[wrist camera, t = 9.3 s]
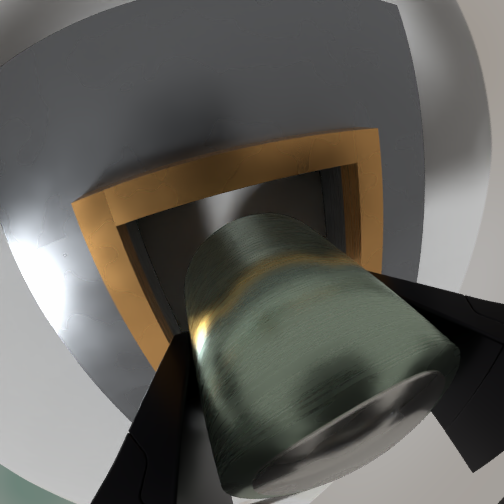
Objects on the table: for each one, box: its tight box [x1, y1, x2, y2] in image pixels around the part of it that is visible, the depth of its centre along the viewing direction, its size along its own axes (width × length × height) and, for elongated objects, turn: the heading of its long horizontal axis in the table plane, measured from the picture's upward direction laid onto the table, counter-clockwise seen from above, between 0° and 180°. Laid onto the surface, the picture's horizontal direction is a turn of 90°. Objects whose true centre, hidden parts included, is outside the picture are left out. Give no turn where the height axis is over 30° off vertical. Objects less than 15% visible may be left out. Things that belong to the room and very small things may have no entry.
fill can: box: [184, 213, 461, 499], centre depth 6 cm, size 5×5×6 cm
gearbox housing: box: [0, 0, 425, 422], centre depth 10 cm, size 16×20×2 cm
